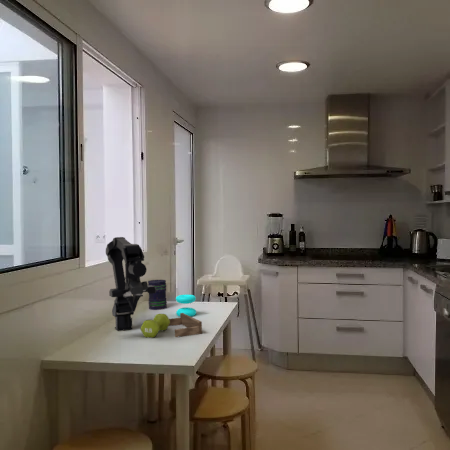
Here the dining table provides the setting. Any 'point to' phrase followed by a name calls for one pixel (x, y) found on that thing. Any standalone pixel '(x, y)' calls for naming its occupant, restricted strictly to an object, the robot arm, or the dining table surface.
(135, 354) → the dining table surface
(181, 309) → the donuts
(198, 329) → the walnut corral
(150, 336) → the dumbbell
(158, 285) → the storage jar
